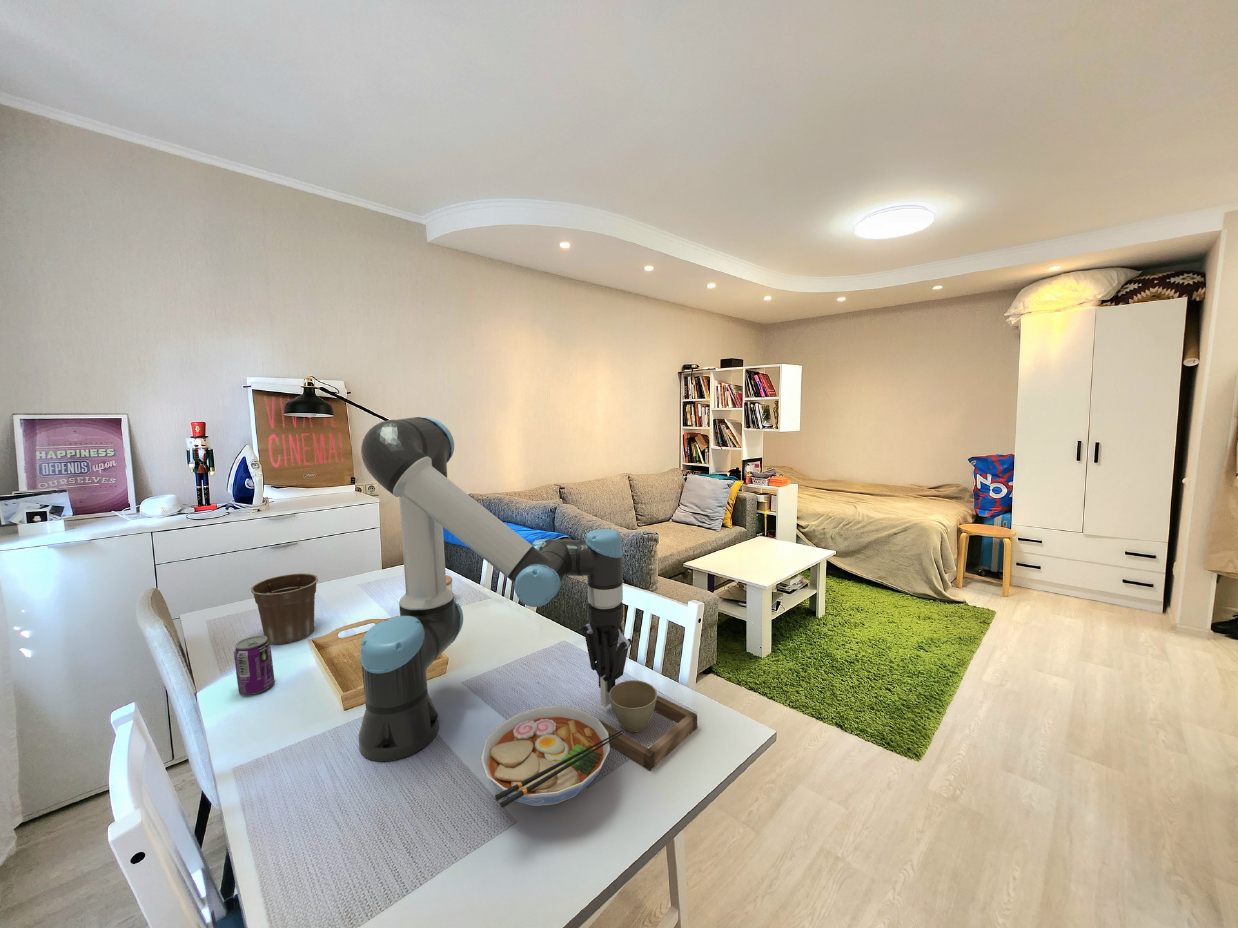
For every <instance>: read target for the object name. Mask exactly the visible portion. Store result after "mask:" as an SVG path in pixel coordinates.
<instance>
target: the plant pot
mask: <svg viewBox="0 0 1238 928" xmlns="http://www.w3.org/2000/svg"><path fill="white" fill-rule="evenodd" d="M318 581H319V577H318V575H315V574H312V573H303V572H301V573H299V572H298V573H289V574H284V575H278V576H274V577H270V578H267V579H265V580H262V581H259V582H257V583H256V584H253V586H252V587H251V588H250V592H251V593H252V594H253V597H254V601H255V604H256V606H257V609H258V613H259V617H260V621H261V628H262V632H263V636H266V637H267V641H268V642H269V643H270V645H286V644H289V643H290V642H298V641H301V640H303V639H305V638H307V637H309V636H311V635H312V634H313V633H314V632H315V605H316V604H315V598H316V597H315V595H316V592H317V583H318Z"/></svg>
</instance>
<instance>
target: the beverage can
mask: <svg viewBox="0 0 1238 928" xmlns="http://www.w3.org/2000/svg"><path fill="white" fill-rule="evenodd" d="M271 645H272V644H270V643H269V642H268V641H267V637H266V636H264V635H255V636H249V637H247V638H244V639H241V640H239V641H238V642H237V643H236V644H235V649H234V652H233V659H234V666H235V673H236V674H235V675H236V681H237V682H236V684H237V690H238V693H240V694H241V695H255V694H259V693H262V692H264V691H266V690H268V689H269V688H270V687H272V686H273V684H274V683H275V680H276V679H275V672H274V665H273V663H274V662H273V654H272V648H271V647H272V646H271Z"/></svg>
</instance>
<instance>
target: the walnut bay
mask: <svg viewBox="0 0 1238 928" xmlns="http://www.w3.org/2000/svg"><path fill="white" fill-rule="evenodd" d="M653 712H655V713H657V714H659V715H661V716H662V717H664V718H667V719H669V720H670V721H672V722H674V723H676V724H675V725H673V727H671V728H670V729H669V730H668V731H667V732H666V733H665V734H664V735H662V736H661V737H660V738H658V739H657V740H656V741H654V743H653V744H652V745H651V746H649V747H647V746H646V745H643V744H642V743H640V742H638V741H636V740H635V739H633V738H631V737H630V736H628V735H626V734H625V733H623V734H622V735H620V736H618V737H617V738H615V739H613V740H612V741H610V742H609V744H610V748H612V749H614V750H615V751H617V752H618V753H620V754H622V755H623V756H625V757H627V758H628V759H630V760H631V761H632V762H634V763H636V764H638V765H640V766H641V767H643V768H644V769H645V770H647V771H652V769H654V768H655V767H656V766H657V765H658V764H659V763H661V761H663V760H664V759H665V758H666V757H667V756H668V755H669V754H670V753H671V752H672V751H674V750H675V749H676V748H677V747H678V746H680V744H681V743H682V742H684V741H685V740H686V738H688V737H689V736H690V735H691V734H692V733H694V732H695V731H696V730H697V729H698V714H697V713H695V712H693V711H691V710H689V709H687V708H685V707H682V706H680V705H679V704H677V703H674V702H672V701H671V700H668V699H666V698H664V697H662V696H661V695H658V694H657V700H656V705H655V708H654V711H653ZM599 721H600V722H601V723H602V725H603V726H604V727H605V729H606V730H607V732H608V735H609V737H610V736H612V735H614V734H616V733H618V732H620V731H621V730H618V729H616V728H615V727H612V726H611V725H609V724H608V723H607V722H604V721H603V720H601V719H599ZM621 733H622V732H620V733H618V734H617V735H619V734H621ZM617 735H615V736H613V737H611V738H610V739H612V738H614V737H616V736H617ZM610 739H609V740H610Z"/></svg>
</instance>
